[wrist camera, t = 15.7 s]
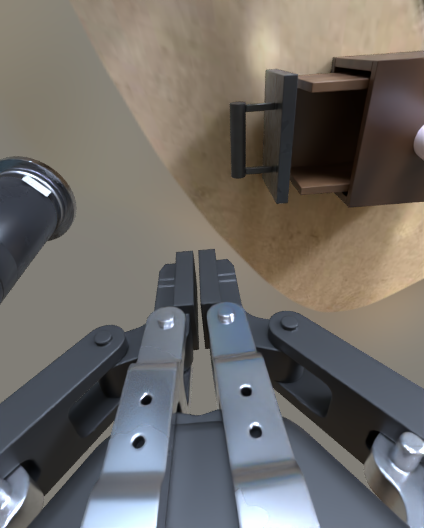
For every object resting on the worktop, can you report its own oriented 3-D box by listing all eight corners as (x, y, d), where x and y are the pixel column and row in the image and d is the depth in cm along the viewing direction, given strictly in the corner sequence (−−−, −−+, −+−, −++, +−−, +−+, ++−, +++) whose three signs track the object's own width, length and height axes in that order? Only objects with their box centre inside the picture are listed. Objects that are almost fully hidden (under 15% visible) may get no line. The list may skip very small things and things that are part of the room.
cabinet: (317, 176, 40) (348, 207, 32) (332, 57, 33) (378, 60, 25) (423, 167, 40) (480, 197, 32) (461, 48, 33) (547, 48, 25)
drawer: (227, 180, 39) (234, 207, 32) (224, 72, 32) (232, 78, 26) (362, 170, 39) (397, 194, 33) (386, 60, 33) (434, 64, 26)
